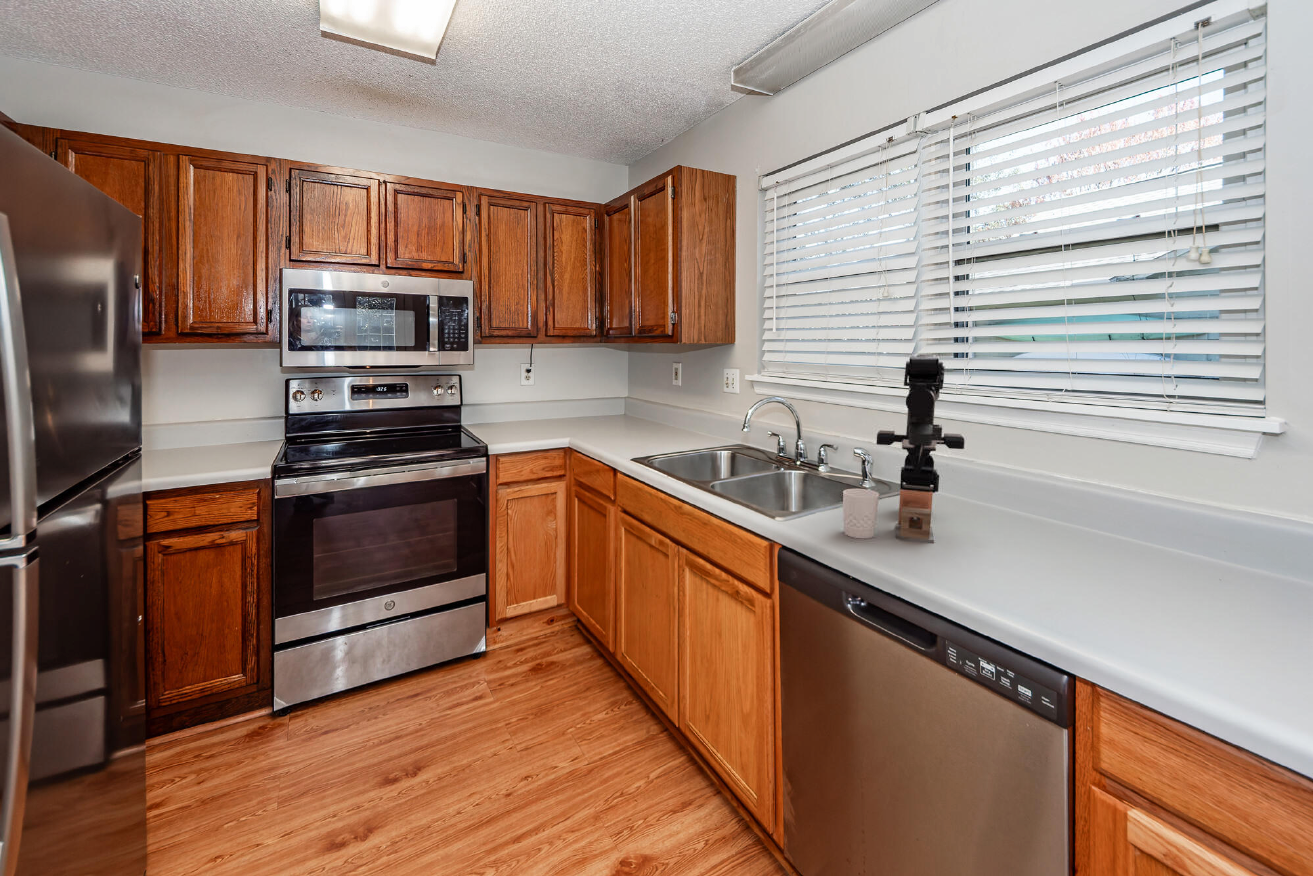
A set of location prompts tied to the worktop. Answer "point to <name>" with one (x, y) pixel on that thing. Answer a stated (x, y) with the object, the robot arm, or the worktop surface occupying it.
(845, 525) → the white cup
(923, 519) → the bearing block
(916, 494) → the copper wooden slab
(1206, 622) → the worktop surface
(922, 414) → the robot arm
